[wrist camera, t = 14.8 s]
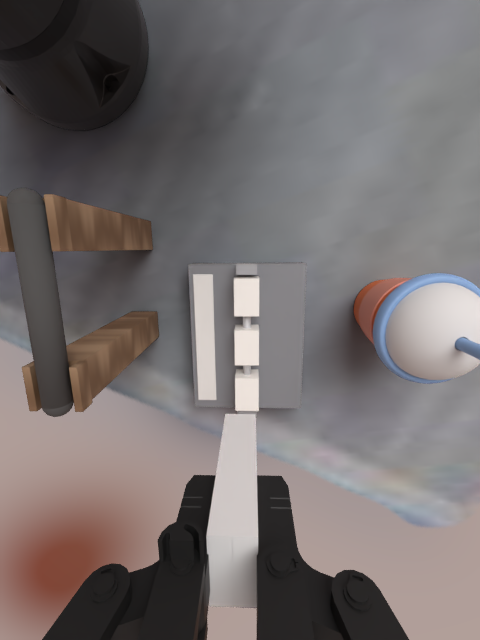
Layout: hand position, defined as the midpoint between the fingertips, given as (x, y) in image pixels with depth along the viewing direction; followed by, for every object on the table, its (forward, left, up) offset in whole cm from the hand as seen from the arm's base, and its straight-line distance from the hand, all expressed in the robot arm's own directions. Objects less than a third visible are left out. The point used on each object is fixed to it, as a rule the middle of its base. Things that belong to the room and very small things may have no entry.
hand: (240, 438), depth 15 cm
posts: (-6, -12, -21) cm, 25 cm away
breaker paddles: (0, 0, -18) cm, 18 cm away
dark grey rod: (-6, -12, -5) cm, 14 cm away
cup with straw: (-3, +15, -21) cm, 26 cm away
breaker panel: (0, 0, -21) cm, 21 cm away
